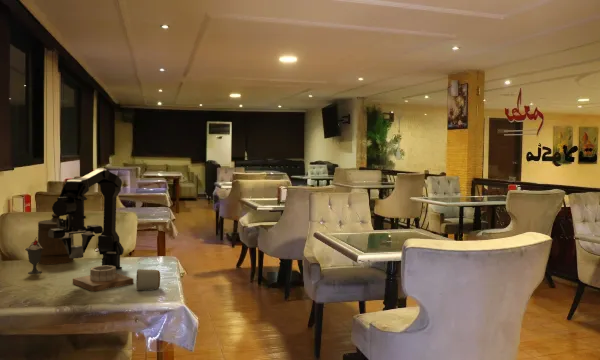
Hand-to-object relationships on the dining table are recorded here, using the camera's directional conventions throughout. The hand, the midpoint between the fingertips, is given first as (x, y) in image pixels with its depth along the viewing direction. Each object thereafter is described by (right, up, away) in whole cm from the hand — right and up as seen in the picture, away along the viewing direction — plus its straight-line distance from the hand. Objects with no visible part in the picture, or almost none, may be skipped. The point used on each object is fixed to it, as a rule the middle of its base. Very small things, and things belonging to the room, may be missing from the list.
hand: (76, 253), depth 198 cm
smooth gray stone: (0, -1, 0) cm, 1 cm away
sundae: (-24, -10, +16) cm, 30 cm away
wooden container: (-26, -9, +39) cm, 48 cm away
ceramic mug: (+28, -13, -5) cm, 31 cm away
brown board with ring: (+10, -12, +1) cm, 15 cm away
